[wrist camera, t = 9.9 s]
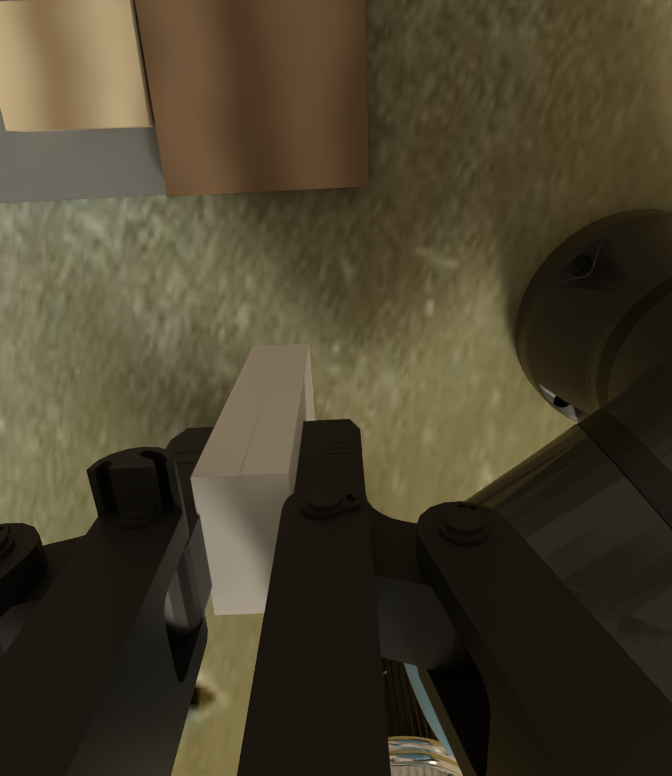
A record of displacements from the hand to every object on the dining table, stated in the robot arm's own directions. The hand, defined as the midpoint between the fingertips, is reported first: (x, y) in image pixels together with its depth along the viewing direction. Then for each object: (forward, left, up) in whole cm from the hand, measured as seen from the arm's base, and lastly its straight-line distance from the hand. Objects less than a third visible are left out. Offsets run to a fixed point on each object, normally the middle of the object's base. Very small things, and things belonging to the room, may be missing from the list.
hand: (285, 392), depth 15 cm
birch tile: (+12, -11, -23) cm, 28 cm away
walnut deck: (+2, -11, -23) cm, 26 cm away
